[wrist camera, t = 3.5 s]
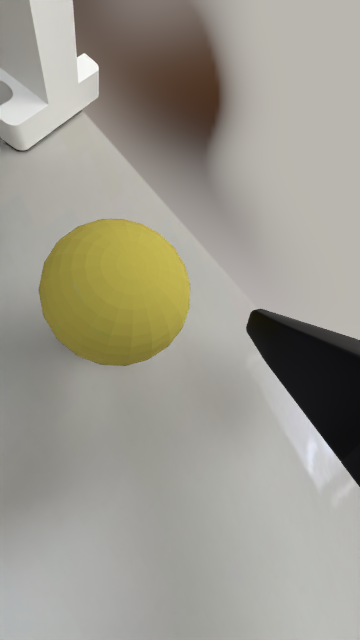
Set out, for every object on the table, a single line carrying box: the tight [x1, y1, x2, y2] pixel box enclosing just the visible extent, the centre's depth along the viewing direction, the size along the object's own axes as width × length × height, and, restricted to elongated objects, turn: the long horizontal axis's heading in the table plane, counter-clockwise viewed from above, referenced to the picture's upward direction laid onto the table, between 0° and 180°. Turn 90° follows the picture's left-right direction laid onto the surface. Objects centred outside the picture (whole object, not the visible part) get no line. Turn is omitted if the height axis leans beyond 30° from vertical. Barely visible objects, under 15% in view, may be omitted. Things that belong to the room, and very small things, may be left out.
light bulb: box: [39, 219, 190, 366], centre depth 13 cm, size 7×7×10 cm
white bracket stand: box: [0, 0, 99, 150], centre depth 14 cm, size 5×10×10 cm, turn 149°
